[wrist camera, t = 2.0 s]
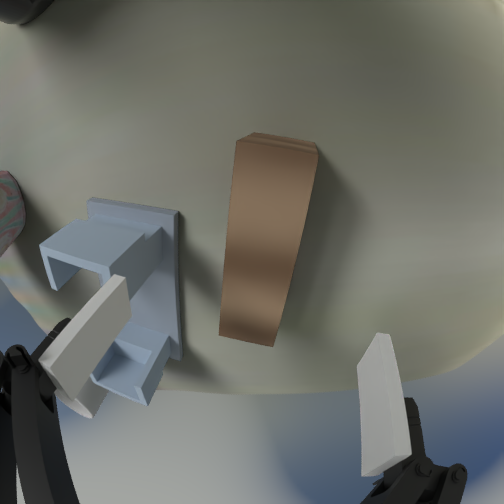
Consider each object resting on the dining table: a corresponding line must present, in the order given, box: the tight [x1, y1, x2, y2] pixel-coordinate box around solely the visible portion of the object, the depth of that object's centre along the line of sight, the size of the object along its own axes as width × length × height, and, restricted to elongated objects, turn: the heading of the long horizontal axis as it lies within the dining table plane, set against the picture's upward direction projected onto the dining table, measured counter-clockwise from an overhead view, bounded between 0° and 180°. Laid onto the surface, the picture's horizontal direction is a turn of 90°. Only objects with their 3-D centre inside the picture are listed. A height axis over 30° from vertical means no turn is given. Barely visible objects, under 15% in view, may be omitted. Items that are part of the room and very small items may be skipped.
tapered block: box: [219, 132, 319, 347], centre depth 20 cm, size 15×4×6 cm, turn 173°
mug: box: [54, 376, 109, 418], centre depth 34 cm, size 12×8×11 cm
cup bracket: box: [39, 197, 183, 406], centre depth 25 cm, size 20×10×9 cm, turn 173°
